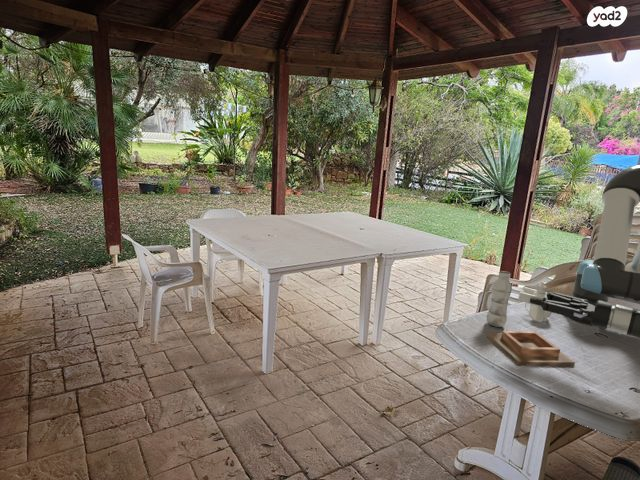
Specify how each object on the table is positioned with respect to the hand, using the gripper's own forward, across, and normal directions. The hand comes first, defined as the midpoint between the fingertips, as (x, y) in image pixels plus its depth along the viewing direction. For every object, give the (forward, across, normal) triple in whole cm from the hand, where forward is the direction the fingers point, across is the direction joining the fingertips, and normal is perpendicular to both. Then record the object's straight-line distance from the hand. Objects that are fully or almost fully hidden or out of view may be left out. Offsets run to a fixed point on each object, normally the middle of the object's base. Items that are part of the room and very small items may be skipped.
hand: (521, 293), depth 126 cm
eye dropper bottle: (-5, 0, -7) cm, 9 cm away
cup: (-2, +33, -18) cm, 38 cm away
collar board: (-5, 0, -18) cm, 18 cm away
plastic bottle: (+8, +12, -18) cm, 23 cm away
